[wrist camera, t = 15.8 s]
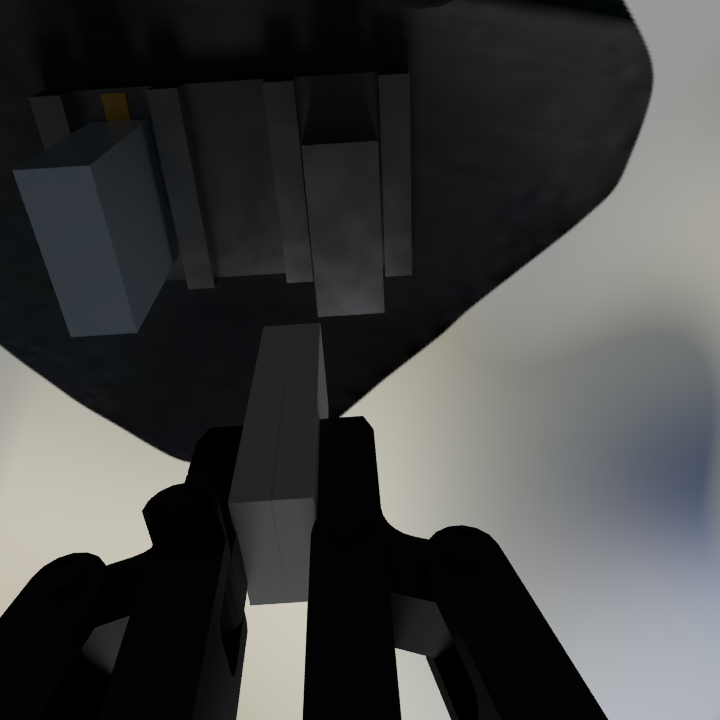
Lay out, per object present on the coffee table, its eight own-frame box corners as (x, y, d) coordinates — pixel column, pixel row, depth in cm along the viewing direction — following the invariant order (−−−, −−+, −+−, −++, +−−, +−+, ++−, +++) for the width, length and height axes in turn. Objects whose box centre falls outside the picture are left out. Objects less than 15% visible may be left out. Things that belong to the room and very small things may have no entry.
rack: (42, 90, 42) (-67, 127, 31) (407, 67, 43) (435, 95, 31) (97, 277, 50) (26, 364, 38) (409, 257, 50) (433, 338, 38)
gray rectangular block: (89, 122, 42) (12, 170, 32) (147, 118, 42) (89, 165, 32) (126, 258, 47) (70, 337, 37) (178, 255, 47) (137, 332, 37)
